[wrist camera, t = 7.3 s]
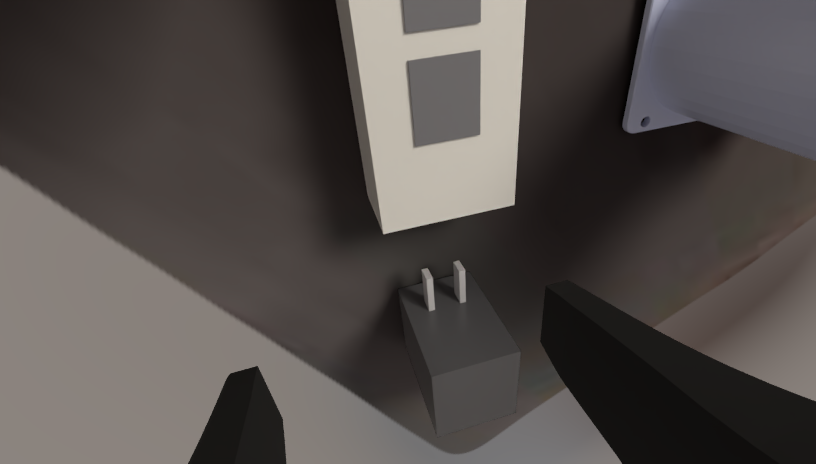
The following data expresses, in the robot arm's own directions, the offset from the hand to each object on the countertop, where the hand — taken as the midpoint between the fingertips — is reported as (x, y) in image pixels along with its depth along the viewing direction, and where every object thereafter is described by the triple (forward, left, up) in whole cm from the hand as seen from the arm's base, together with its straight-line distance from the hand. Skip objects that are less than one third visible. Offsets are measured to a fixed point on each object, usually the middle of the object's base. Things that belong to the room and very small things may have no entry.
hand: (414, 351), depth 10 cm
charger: (-3, +8, -10) cm, 13 cm away
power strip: (-3, -9, -10) cm, 14 cm away
